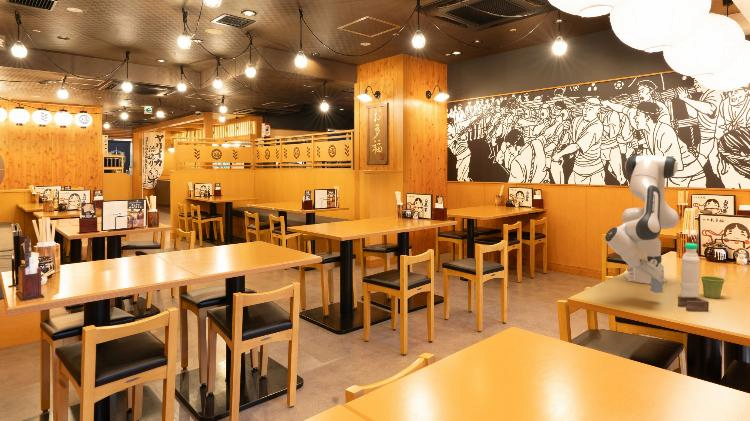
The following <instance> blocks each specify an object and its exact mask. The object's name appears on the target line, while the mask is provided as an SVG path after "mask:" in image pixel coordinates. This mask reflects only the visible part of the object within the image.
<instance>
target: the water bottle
mask: <svg viewBox="0 0 750 421" xmlns="http://www.w3.org/2000/svg"><path fill="white" fill-rule="evenodd" d="M698 246H699V245H698V244H697V243H692V242H691V243H690V242H689V243H685V247H684V248H685V252H684V254H683V255H682V257H681V267H680V268H681V269H680V271H681V272H680V280H681V281H680V292H679V295H680V296H679V297H699V288H700V284H699V282H700V272H701V271H700V269H701V268H700V267H701V266H700V262H701V259H700V257H699V254H698V253H697V250H698ZM699 298H700V297H699Z"/></svg>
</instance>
